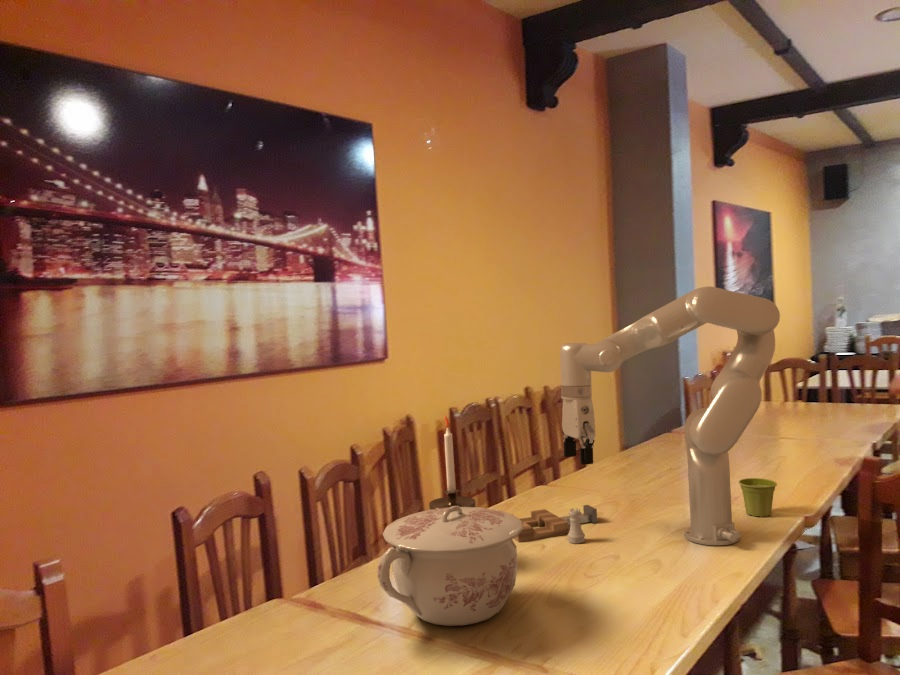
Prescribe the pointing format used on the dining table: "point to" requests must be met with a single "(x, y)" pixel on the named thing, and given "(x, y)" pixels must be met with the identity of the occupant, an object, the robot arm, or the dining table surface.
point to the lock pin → (585, 515)
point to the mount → (541, 518)
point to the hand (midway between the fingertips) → (578, 460)
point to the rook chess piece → (575, 527)
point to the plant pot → (758, 495)
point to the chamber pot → (452, 563)
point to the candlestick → (450, 480)
